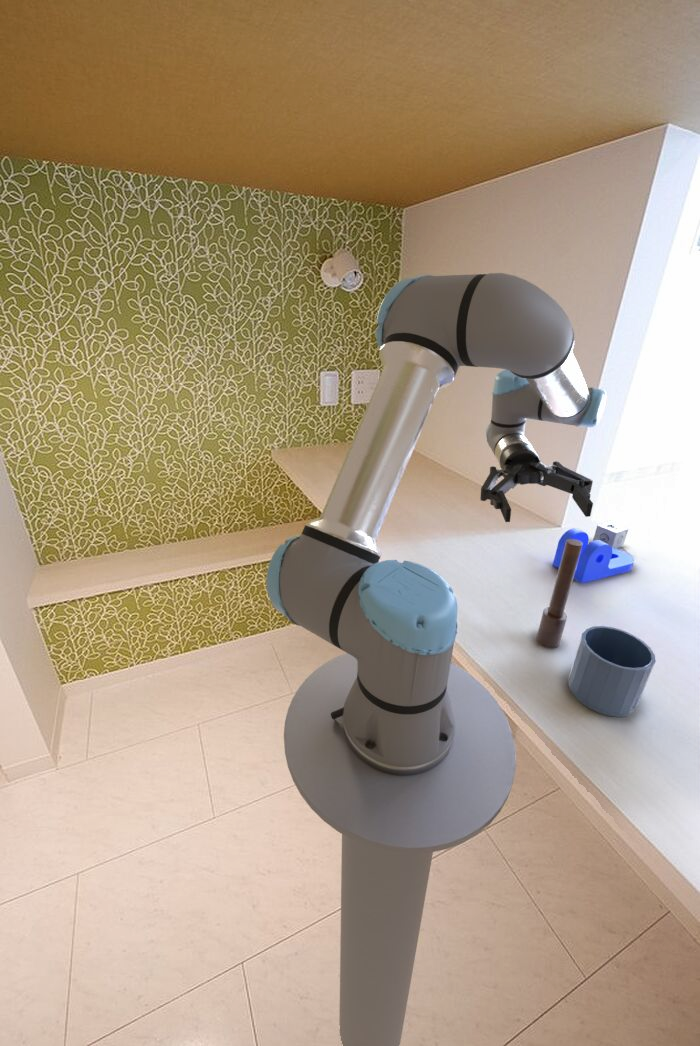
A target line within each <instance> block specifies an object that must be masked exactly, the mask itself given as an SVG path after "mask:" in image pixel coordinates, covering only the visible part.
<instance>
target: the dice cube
mask: <svg viewBox="0 0 700 1046" xmlns="http://www.w3.org/2000/svg"><path fill="white" fill-rule="evenodd" d="M628 531H629V528H628V527H624V526H622V525H619V524H618V523H614V522H612V521H611V520H609V521H606V522H603V523H600V524H597V525H596V529H595V531H594V536H593V539H592V542H593V541H595V540H600V541H602V542H604V543H606V544H608V545H610V546H611V547H612V548H615V549H619V548H623V547H624V544H625V540H626V538H627V536H628Z"/></svg>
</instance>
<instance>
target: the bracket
mask: <svg viewBox="0 0 700 1046" xmlns="http://www.w3.org/2000/svg"><path fill="white" fill-rule="evenodd" d="M589 538H590V537H589V535H588V534H587V532H585V531H583V530H581V529H579V528H577V527H572V528H569V529H568V530H567V531H565V532H563V534H562V535H561V536H560V538H559V539H558V542H557V546H556V550H555V554H554V558H553V562H552V566H554V567H555V568H557V569H558V570H559V567H560V563H561V559H562V555H563V552H564V548H565V544H566V540H567V539H576V540H579V541H581V542H582V543H583V546H582V549H581V553H580V556H579V560H578V563H577V567H576V571H575V574H574V578H573V580H575V581H577V582H578V583H580V584H584V583H588V582H593V581H597V580H601V579H605V578H608V577H612V576H617V575H619V574H620V575H621V574H624V573H628V572H630V571H631V570H632V568H633V565H634V563H635V559H634V557H633V556H632V555H631V554H630V553H628V552H626V551H624V550H622V549H619V548H617V549H615V548H612V547H611V546H610V545H608V544H606V543H604V542H602V541H600V540H595V541H593V540H592V541H591V542H590V541H589V540H590V539H589Z"/></svg>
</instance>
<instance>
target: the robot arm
mask: <svg viewBox="0 0 700 1046" xmlns="http://www.w3.org/2000/svg"><path fill="white" fill-rule="evenodd" d="M376 315H377V316H376V324H378V327H377V328H376V329H375V339H376V343H377V347H378V349H379V352H378V357H379V360H380V362H381V364H382V366H383V368H382V371H381V373H380V376H379V378H378V380H377V382H376V385H375V388H374V390H373V392H372V394H371V397H370V399H369V401H368V404H367V406H366V409H365V410H364V414H363V415H362V418H361V420H360V423H359V425H358V427H357V430H356V432H355V433H354V434H355V435H354V436H353V439H352V441H351V443H350V446H349V448H348V451H347V453H346V455H345V458H344V460H343V463H342V464H341V467H340V468H339V472H338V474H337V477H336V479H335V481H334V483H333V485H332V488H331V490H330V493H329V496H328V497H327V500H326V503H325V505H324V507H323V509H322V512H321V514H320V516H319V517H317V518H314V519H313V520H310V521H308V522H306V523H305V525H304V527H303V529H302V532H301V534H300V535H299V534H298V535H294V536H290V537H289V538H287V539H286V540H285V541H284V543H281V544H280V545H279V546H278V547H277V548H276V550H275V551H274V553H273V555H272V557H271V558H270V561H269V565H268V567H267V571H266V579H265V583H266V584H265V585H266V592H267V595H268V597H269V602H270V603H271V605H272V607H273V608H274V609H275V610H276V611H277V612H278V613H280V614H281V615H282V616H284V617H285V618H287V619H288V621H290V622H291V623H292V624H293V625H296V626H299V627H301V628H303V629H305V630H307V631H308V632H310V633H311V634H314V635H315V636H317V637H319V638H320V639H322V640H324V641H326V642H328V643H329V644H331V645H333V646H334V647H336V648H338V649H339V650H341V651H342V652H345V653H348V654H350V655H352V656H353V657H355V658H356V659H357V661H358V665H357V677H356V680H355V682H354V684H353V686H352V688H351V690H350V692H349V694H348V696H347V698H346V701H345V704H344V707H343V708H341V709H339V710H336V711H334V712H332V713H331V717H332V719H333V720H334V719H336V718H338V717H341V716H343V731H344V735H345V738H346V741H347V743H348V745H349V746H350V748H351V749H352V751H353V752H354V753H355V754H356V756H357V757H358V758H360V759H361V760H362V761H363V762H364V763H366V764H367V765H369V766H370V767H372V768H374V769H376V770H379V771H381V772H384V773H387V774H392V775H399V776H409V775H417V774H420V773H424V772H426V771H429V770H431V769H433V768H434V767H436V766H437V765H438V764H440V763H441V762H442V761H443V760H444V759H445V757H446V756H447V755H448V753H449V751H450V749H451V746H452V743H453V738H454V731H455V721H454V714H453V711H452V707H451V702H450V699H449V696H448V692H447V682H448V677H449V670H450V664H451V662H452V658H453V651H454V646H455V641H456V637H457V634H458V600H457V597H456V596H455V595H454V589H452V587H451V585H450V584H449V583H448V582H447V581H446V580H445V578H444V577H442V576H441V575H440V574H438V573H437V572H436V571H434V570H433V569H431V568H429V567H427V566H425V565H422V564H420V563H417V562H414V561H410V560H403V561H402V562H400V561H398V560H397V559H387V560H382V561H380V560H381V556H382V553H381V550H380V547H379V545H378V542H377V539H378V536H379V533H380V531H381V530H382V526H383V525H384V522H385V519H386V517H387V515H388V512H389V509H390V508H391V505H392V502H393V500H394V498H395V495H396V492H397V491H398V488H399V485H400V484H401V481H402V478H403V476H404V473H405V471H406V469H407V466H408V464H409V462H410V459H411V456H412V454H413V452H414V450H415V447H416V444H417V442H418V440H419V437H420V435H421V433H422V431H423V430H422V429H423V428H424V425H425V423H426V420H427V418H428V416H429V414H430V411H431V408H432V406H433V403H434V401H435V398H436V396H437V394H438V391H440V390H443V389H445V388H447V387H450V386H451V385H452V384H453V382H454V380H455V378H456V375H457V372H458V371H459V369H460V367H474V368H489V369H491V368H492V369H500V370H501V369H502V370H501V371H500V372H498V373H497V374H496V375H495V377H494V383H493V391H492V394H491V395H492V401H491V417H490V418H491V419H490V423H489V424H488V426H487V428H486V430H485V437H486V442H487V444H488V446H489V448H490V450H491V451H492V453H493V455H494V457H495V459H496V461H497V463H498V465H499V467H500V469H497V467H496V466H493V465H492V466H489V474H488V475H487V477H486V479H485V480H484V482H483V484H482V486H481V487H480V498H479V499H480V500H479V501H481V502H486V501H487V500H489V501H490V503H489V504H490V505H491V506H493V508H494V509H495V510H500V512H501V515H502V517H503V520H504V522H505V523H510V522H511V515H512V507H511V506H510V503H509V501H508V498H507V496H506V495H505V494H507V493H508V492H509V491H510V490H511V489H514V488H515V487H516V486H517V485H520V486H522V485H523V486H524V485H534V484H535V485H538V486H539V485H540V486H542V487H546V486H548V487H551V488H554V489H557V490H560V491H563V492H565V493H568V494H571V496H572V497H571V498H572V499H573V501H574V502H575V504H576V505H577V506H578V508H579V509H580V511H581V512H582V514H583V515H584V517H586V518H588V517H591V515H592V510H593V507H594V503H593V501H592V499H591V491H592V487H593V483H594V480H593V479H591V478H588V477H587V476H585V475H583V474H581V473H578V472H576V471H575V470H572V469H570V468H568V467H566V466H564V465H563V464H562V463H560V462H559V461H557V460H555V461H553V462H552V465H545V464H544V463H542V462H541V459H540V456H539V455H538V453H537V452H536V450H535V449H534V448H533V445H532V444H531V443H530V441H528V439H527V437H526V436H525V429H526V423H527V419H528V420H534V421H542V422H550V423H555V424H562V425H567V426H574V427H577V428H580V427H582V428H583V427H584V428H594V427H596V426H597V425H598V424H599V423H600V420H601V418H602V415H603V413H604V410H605V407H606V401H607V392H606V391H605V390H604V389H602V388H601V389H600V388H596V387H587V384H586V381H585V378H584V377H583V373H582V371H581V369H580V366H579V364H578V361H577V358H576V357H575V354H574V351H573V349H574V345H575V332H574V328H573V325H572V323H571V320H570V319H569V316H568V315H567V313H566V312H565V310H564V309H563V307H562V306H561V305H560V304H559V303H558V302H557V301H556V300H555V299H554V298H553V297H552V296H551V295H549V293H547V292H546V291H544V290H542V289H541V288H540V287H539V286H538V285H536V284H534V283H532V282H530V281H528V280H526V279H524V278H522V277H519V276H516V275H512V274H508V273H504V272H491V273H478V274H477V273H473V274H453V275H452V274H451V275H450V274H449V275H448V274H447V275H431V274H422V275H418V276H415V277H408V278H404V279H401V280H400V281H398V282H397V283H395V284H394V285H393V286H392V287H391V288H390V289H389V290H388V292H387V293H386V294H385V295H384V298H383V299H382V301H381V304H380V306H379V309H378V312H377V314H376ZM502 477H503V478H502ZM500 478H502V479H501V480H500V481H499V479H500ZM498 481H499V482H498ZM496 483H497V484H496Z"/></svg>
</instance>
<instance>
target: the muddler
mask: <svg viewBox="0 0 700 1046" xmlns="http://www.w3.org/2000/svg"><path fill="white" fill-rule="evenodd" d="M582 546H583V543H582V542H581V541H579V540H576V539H567V540H566V544H565V548H564V552H563V555H562V559H561V563H560V567H559V569H558V571H557V574H556V578H555V583H554V587H553V590H552V594H551V598H550V602H549V606H547V607H545V608H543V610H542V615H541V619H540V623H539V625H538V626H539V627H538V630H537V633H536V641H537V642H538V643H539V644H540V645H542V646H543V647H546V648H550V649H553V648H558V647H559V646H560V645H561V644H560V643H561V640H562V637H563V633H564V631H565V630H564V629H565V626H566V622H567V619H568V615H567V613H566V612H565V609H566V606H567V602H568V599H569V595H570V592H571V588H572V584H573V581H574V574H575V571H576V567H577V563H578V560H579V556H580V553H581V549H582Z"/></svg>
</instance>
